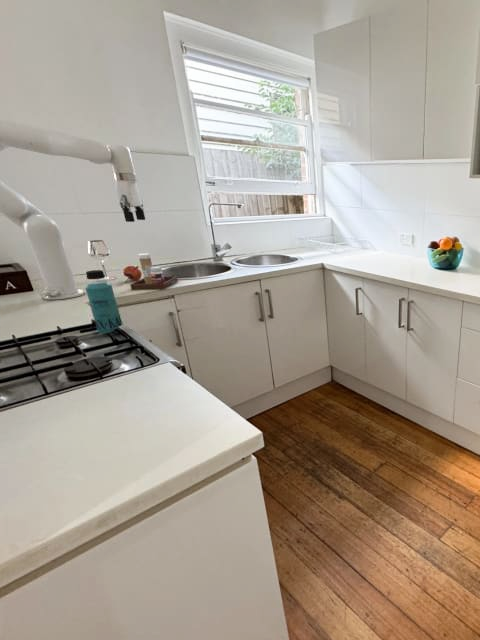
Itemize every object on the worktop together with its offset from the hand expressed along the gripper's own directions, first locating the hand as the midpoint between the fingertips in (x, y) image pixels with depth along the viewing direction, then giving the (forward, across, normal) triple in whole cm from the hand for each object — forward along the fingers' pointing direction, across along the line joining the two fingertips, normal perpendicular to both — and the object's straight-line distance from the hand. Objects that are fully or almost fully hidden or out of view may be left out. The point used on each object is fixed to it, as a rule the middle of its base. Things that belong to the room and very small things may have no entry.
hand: (136, 220), depth 166 cm
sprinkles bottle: (+28, 0, 0) cm, 28 cm away
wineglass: (+28, -13, -25) cm, 40 cm away
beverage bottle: (+28, +68, +17) cm, 76 cm away
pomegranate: (+28, -8, -11) cm, 32 cm away
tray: (+28, +3, +3) cm, 29 cm away
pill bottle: (+28, +6, +6) cm, 29 cm away
